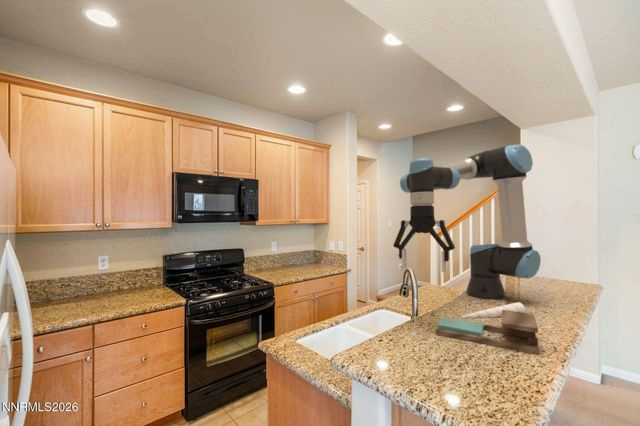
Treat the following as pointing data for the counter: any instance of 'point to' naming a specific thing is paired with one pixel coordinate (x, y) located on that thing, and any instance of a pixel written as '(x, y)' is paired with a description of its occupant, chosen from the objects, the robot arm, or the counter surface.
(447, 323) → the tile
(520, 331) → the overhang
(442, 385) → the counter surface
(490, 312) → the unicorn horn
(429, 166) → the robot arm
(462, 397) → the counter surface
